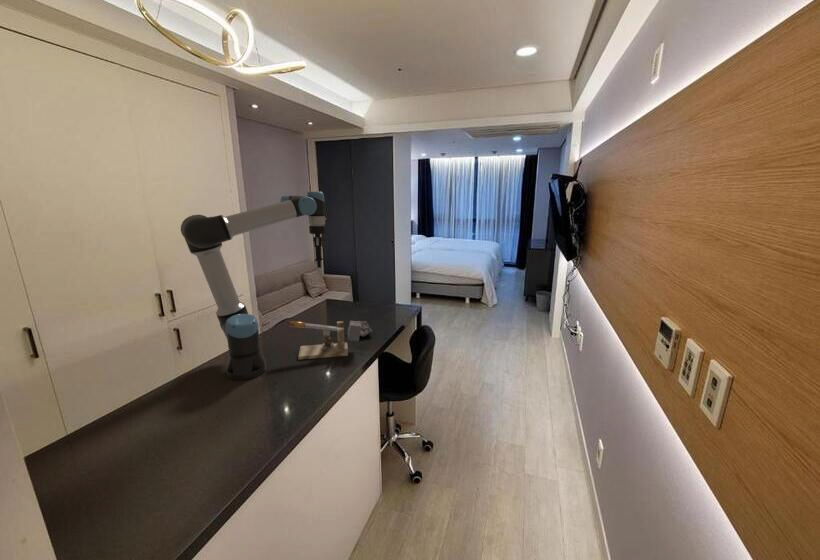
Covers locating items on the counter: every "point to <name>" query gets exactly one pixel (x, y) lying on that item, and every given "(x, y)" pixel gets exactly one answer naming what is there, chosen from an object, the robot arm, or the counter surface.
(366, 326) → the rock
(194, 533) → the counter surface
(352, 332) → the lever
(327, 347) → the tan angle plate
